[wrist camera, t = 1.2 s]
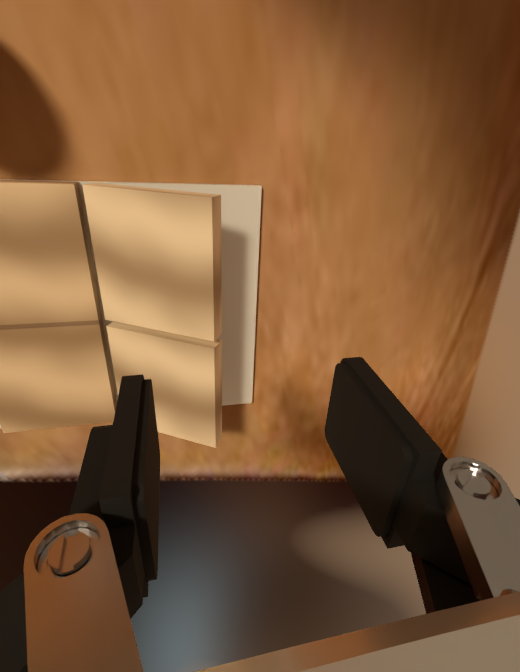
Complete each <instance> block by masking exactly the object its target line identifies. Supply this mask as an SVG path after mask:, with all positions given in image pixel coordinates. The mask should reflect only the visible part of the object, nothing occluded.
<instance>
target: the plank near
mask: <svg viewBox="0 0 520 672" xmlns="http://www.w3.org/2000/svg"><path fill="white" fill-rule="evenodd" d="M82 187H83V193H84V198H85V204H86V210H87V216H88V222H89V228H90V234H91V240H92V246H93V251H94V257H95V263H96V269H97V275H98V281H99V287H100V293H101V298H102V304H103V310H104V316H105V320H109V321H114V322H119V323H124V324H129V325H134V326H139V327H144V328H149V329H154V330H159V331H164V332H169V333H173V334H178V335H183V336H188V337H193V338H198V339H203V340H208V341H213V342H214V341H215V340H216V339H217V338H218V337H219V336H220V335H221V334H222V288H221V195H219V194H208V193H198V192H187V191H177V190H167V189H156V188H146V187H136V186H125V185H115V184H104V183H91V184H84V185H82Z"/></svg>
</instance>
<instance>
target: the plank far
mask: <svg viewBox="0 0 520 672" xmlns="http://www.w3.org/2000/svg"><path fill="white" fill-rule="evenodd" d="M106 328H107V334H108V340H109V345H110V351H111V357H112V363H113V369H114V375H115V381H116V387H117V393H118V395H119V389H120V384H121V379H122V376H129V375H142V374H143V376H144V379H151V380H152V387H153V396H154V405H155V414H156V423H157V431H158V432H160V433H164V434H167V435H171V436H175V437H178V438H182V439H185V440H189V441H192V442H196V443H200V444H203V445H207V446H210V447H214V448H216V447H217V445H218V443H219V442H220V440H221V438H222V340H219V339H216V340H215V341H214V342H213V341H208V340H203V339H198V338H193V337H188V336H183V335H178V334H173V333H169V332H164V331H159V330H154V329H149V328H144V327H139V326H134V325H129V324H124V323H119V322H112V323H110V324H109V325H107V326H106Z"/></svg>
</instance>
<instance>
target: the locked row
mask: <svg viewBox="0 0 520 672" xmlns="http://www.w3.org/2000/svg"><path fill="white" fill-rule="evenodd" d="M116 405H117V401H116V395H115V390H114V384H113V378H112V372H111V367H110V361H109V355H108V349H107V344H106V338H105V332H104V326H103V321H102V315H101V309H100V303H99V298H98V292H97V286H96V280H95V275H94V269H93V263H92V257H91V252H90V246H89V240H88V234H87V229H86V223H85V217H84V211H83V206H82V200H81V194H80V188H79V183H78V182H71V181H27V180H0V425H1V428H2V431H3V433H9V432H18V431H28V430H38V429H47V428H57V427H67V426H76V425H86V424H95V423H105V422H113V421H114V416H115V411H116Z"/></svg>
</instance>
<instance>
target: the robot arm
mask: <svg viewBox="0 0 520 672" xmlns="http://www.w3.org/2000/svg"><path fill="white" fill-rule="evenodd" d="M325 436H326V440H327V442H328V444H329V446H330V448H331V450H332V452H333V454H334V456H335V458H336V460H337V461H338V463H339V465H340V467H341V469H342V471H343V473H344V475H345V477H346V479H347V481H348V483H349V485H350V487H351V489H352V491H353V493H354V495H355V496H356V499H357V501H358V502H359V504H360V506H361V508H362V510H363V512H364V514H365V516H366V518H367V520H368V522H369V524H370V526H371V528H372V530H373V531H374V533H375V534H376V535H377V536H378V537H379V536H381V537H382V539H383V541H384V543H385V544H386V546H387V548H393V547H397V546H402V545H405V547H406V548H407V550H408V551H410V552H411V555H412V560H413V564H414V568H415V572H416V576H417V580H418V584H419V588H420V591H421V596H422V600H423V604H424V608H425V611H426V614H424V615H420V616H416V617H412V618H408V619H404V620H400V621H396V622H392V623H387V624H383V625H380V626H375V627H371V628H367V629H363V630H359V631H355V632H351V633H347V634H343V635H339V636H335V637H331V638H327V639H323V640H319V641H315V642H311V643H307V644H302V645H298V646H295V647H290V648H287V649H283V650H279V651H275V652H271V653H267V654H263V655H259V656H255V657H251V658H247V659H243V660H239V661H235V662H231V663H227V664H223V665H219V666H215V667H211V668H207V669H203V670H200V671H195V672H520V500H519V499H516V498H515V497H514V496H513V494H512V492H511V490H510V489H509V487H508V485H507V483H505V481H504V480H503V478H502V477H501V476H500V475H499V474H498V473H497V472H496V471H495V470H493V469H492V468H491V467H489V466H487V465H486V464H484V463H482V462H480V461H477V460H475V459H471V458H467V457H453V458H450V459H447V458H446V457H445V456H444V454H443V453H442V450H441V449H440V448H439V447H438V446H437V444H436V443H435V442H434V441H433V440H432V439H431V437H430V436H429V435H428V434H427V433H426V432H425V430H424V429H423V428H422V427H421V426H420V425H419V423H418V422H417V421H416V420H415V419H414V418H413V416H412V415H411V414H410V413H409V412H408V411H407V409H406V408H405V407H404V406H403V405H402V404H401V402H400V401H399V400H398V399H397V398H396V397H395V395H394V394H393V393H392V392H391V391H390V389H389V388H388V387H387V386H386V385H385V384H384V382H383V381H382V380H381V379H380V378H379V377H378V375H377V374H376V373H375V372H374V371H373V370H372V368H371V367H370V366H369V365H368V364H367V363H366V361H365V360H364V359H363V358H362V357H355V358H344V359H342V360H341V363H338V364H337V365H336V367H335V373H334V378H333V384H332V390H331V396H330V402H329V408H328V414H327V419H326V425H325ZM159 483H160V449H159V440H158V431H157V423H156V414H155V405H154V396H153V387H152V380H151V379H144V376H143V374H142V375H129V376H122V379H121V384H120V389H119V395H118V400H117V405H116V411H115V416H114V421H113V425H107V426H98V427H93V428H92V430H91V432H90V436H89V440H88V444H87V448H86V452H85V455H84V459H83V463H82V467H81V471H80V475H79V479H78V483H77V487H76V491H75V495H74V498H73V502H72V506H71V510H70V514H69V516H65V517H63V518H61V519H59V520H57V521H55V522H53V523H51V524H50V525H49V526H47V527H46V528H45V529H44V530H43V531H41V532H40V533H39V534H38V536H37V537H36V538H35V539H34V540H33V542H32V543H31V545H30V547H29V549H28V551H27V553H26V555H25V562H24V573H22V574H21V575H20V576H19V577H18V578H16V579H15V580H14V581H13V582H12V583H11V584H9V585H8V586H7V587H6V588H5V589H3V590H2V591H1V592H0V672H143V668H142V664H141V660H140V656H139V652H138V648H137V644H136V640H135V636H134V632H133V628H132V624H131V620H130V619H131V617H132V616H133V615H134V614H135V613H136V611H137V610H138V609H139V608H140V607H141V606H142V601H143V597H148V581H150V580H155V579H157V569H158V566H157V565H158V527H159V485H160V484H159Z"/></svg>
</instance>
